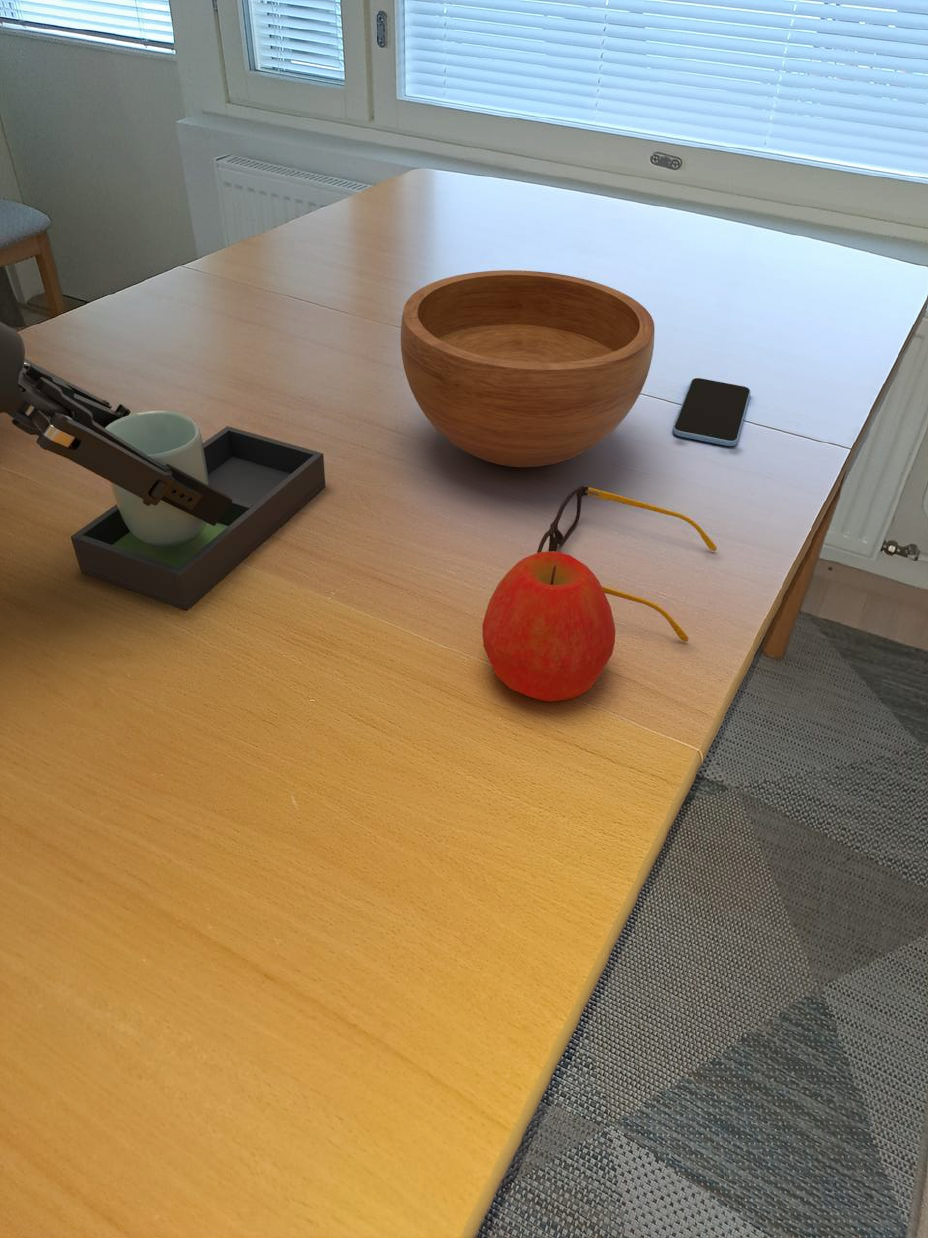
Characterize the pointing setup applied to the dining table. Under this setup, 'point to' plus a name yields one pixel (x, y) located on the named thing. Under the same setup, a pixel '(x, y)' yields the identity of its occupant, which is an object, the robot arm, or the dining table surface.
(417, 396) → the bowl
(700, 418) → the smartphone
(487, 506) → the dining table surface
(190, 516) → the cup
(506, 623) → the apple
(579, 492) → the eyeglasses
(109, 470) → the robot arm
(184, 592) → the holder
